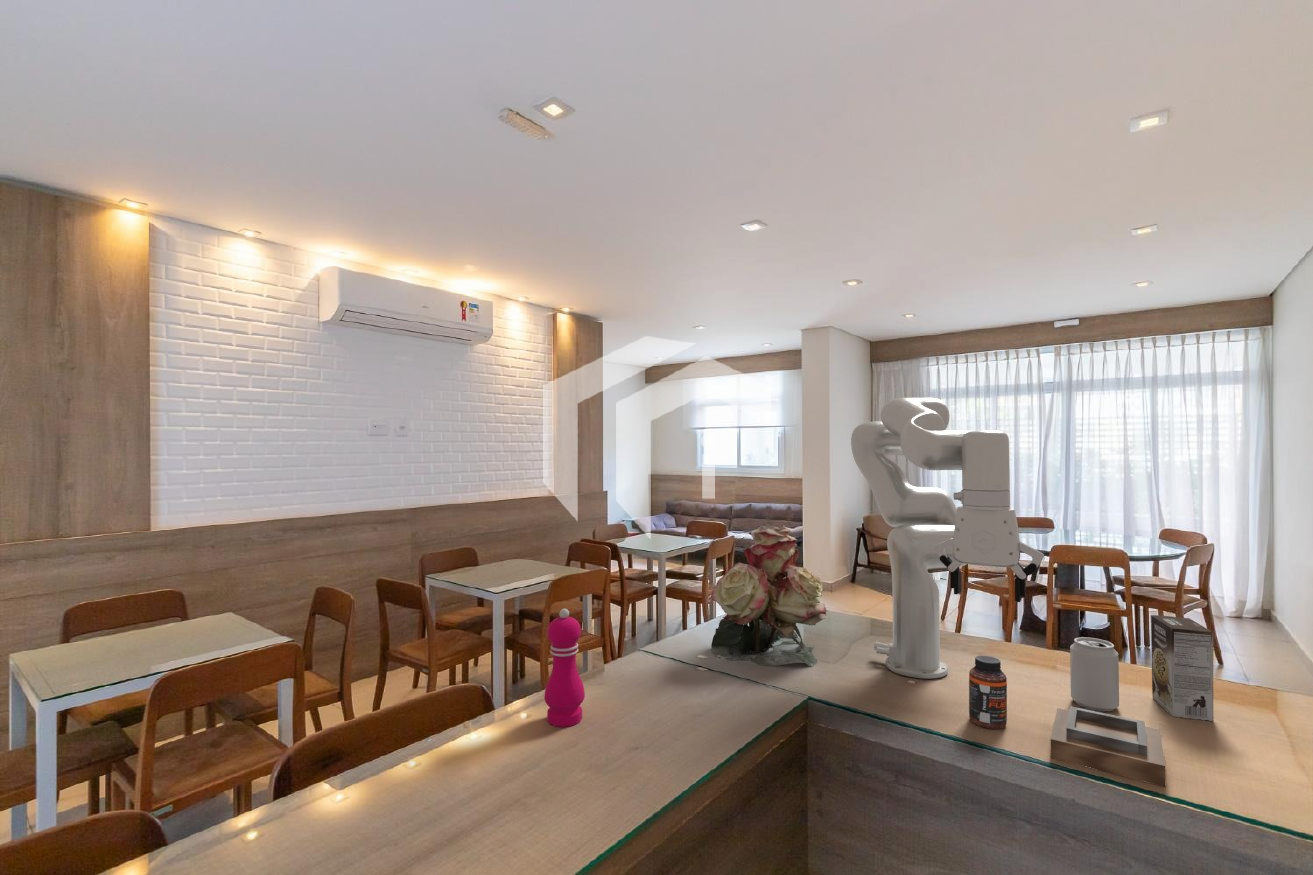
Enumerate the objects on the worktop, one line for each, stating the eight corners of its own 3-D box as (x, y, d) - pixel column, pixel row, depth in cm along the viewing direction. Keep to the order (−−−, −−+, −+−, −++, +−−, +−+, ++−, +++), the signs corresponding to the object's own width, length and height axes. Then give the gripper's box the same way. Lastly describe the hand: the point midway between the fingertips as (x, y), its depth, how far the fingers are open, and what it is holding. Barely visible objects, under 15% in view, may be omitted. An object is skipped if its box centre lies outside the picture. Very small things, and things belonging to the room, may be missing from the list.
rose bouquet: (702, 663, 141) (701, 531, 141) (736, 627, 168) (735, 516, 168) (818, 679, 131) (817, 536, 131) (834, 638, 158) (833, 520, 158)
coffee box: (1150, 697, 120) (1149, 614, 121) (1191, 701, 118) (1190, 617, 118) (1171, 717, 112) (1170, 627, 112) (1215, 722, 110) (1214, 630, 110)
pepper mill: (591, 713, 115) (590, 605, 115) (573, 730, 108) (573, 615, 108) (556, 708, 117) (556, 602, 117) (537, 725, 110) (536, 612, 110)
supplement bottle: (993, 733, 106) (992, 667, 106) (961, 719, 111) (961, 656, 111) (1014, 725, 109) (1014, 661, 109) (983, 712, 114) (982, 651, 114)
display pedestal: (1050, 757, 98) (1050, 729, 98) (1057, 725, 109) (1057, 699, 109) (1165, 786, 89) (1165, 755, 89) (1160, 748, 101) (1159, 720, 101)
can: (1127, 715, 113) (1127, 648, 113) (1081, 711, 114) (1081, 646, 114) (1106, 698, 120) (1106, 636, 120) (1063, 695, 122) (1063, 634, 122)
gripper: (928, 499, 112) (930, 594, 112) (1040, 504, 102) (1042, 608, 102) (938, 496, 118) (939, 586, 118) (1045, 500, 108) (1046, 599, 108)
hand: (987, 596), depth 110 cm, fingers open, 9 cm apart
